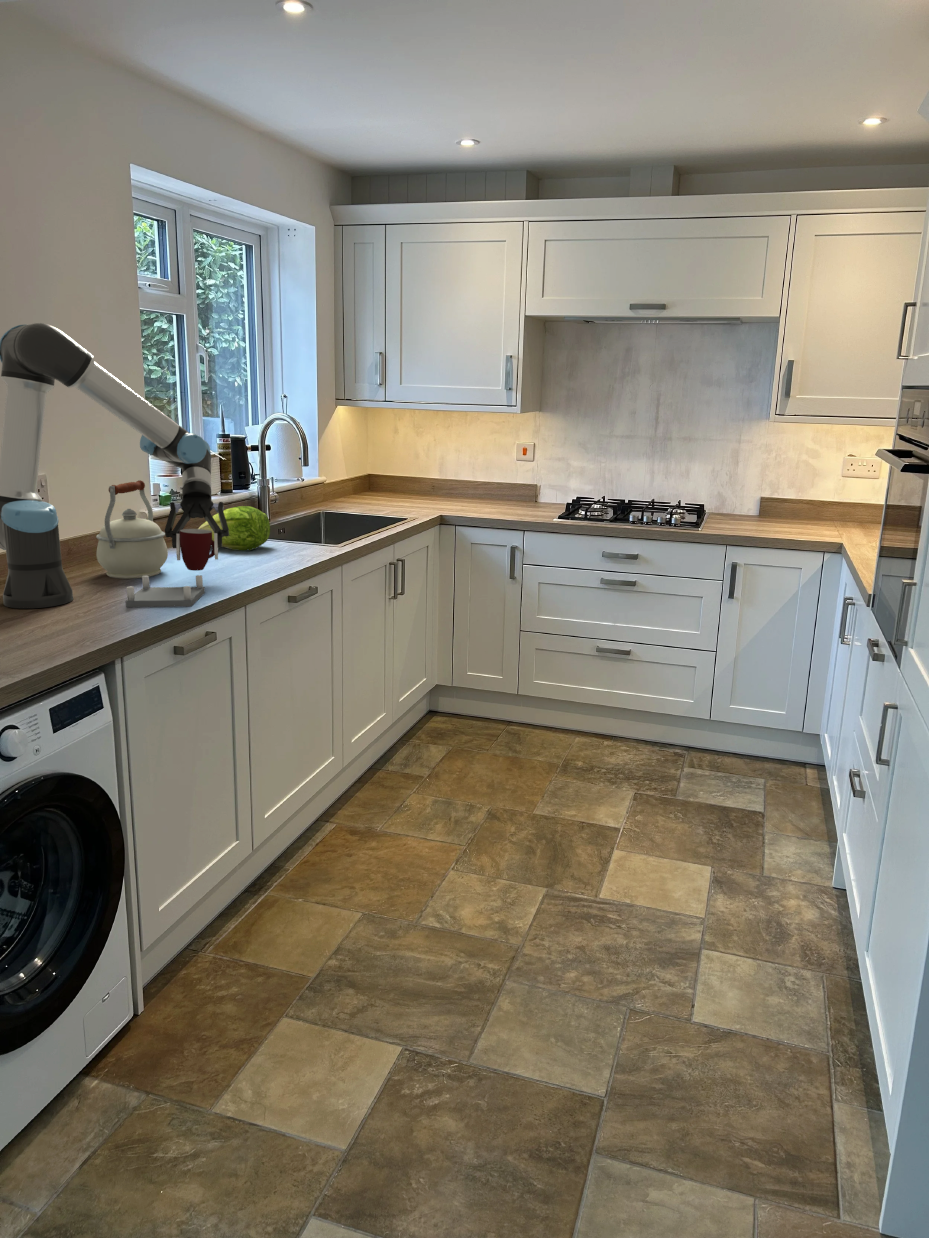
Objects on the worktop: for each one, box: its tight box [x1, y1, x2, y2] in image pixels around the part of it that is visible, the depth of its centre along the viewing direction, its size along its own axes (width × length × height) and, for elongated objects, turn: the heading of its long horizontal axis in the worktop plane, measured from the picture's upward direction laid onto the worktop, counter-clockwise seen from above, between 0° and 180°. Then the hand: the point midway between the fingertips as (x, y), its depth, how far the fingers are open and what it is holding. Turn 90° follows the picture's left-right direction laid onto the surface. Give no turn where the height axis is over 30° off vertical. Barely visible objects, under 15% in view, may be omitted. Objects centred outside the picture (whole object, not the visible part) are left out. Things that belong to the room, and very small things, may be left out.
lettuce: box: [197, 505, 271, 552], centre depth 295 cm, size 14×24×15 cm
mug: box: [179, 528, 215, 572], centre depth 241 cm, size 11×8×10 cm
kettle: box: [95, 479, 169, 580], centre depth 253 cm, size 25×18×25 cm
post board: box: [125, 575, 206, 608], centre depth 223 cm, size 15×15×4 cm
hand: (197, 556), depth 238 cm, fingers closed on mug, 9 cm apart
